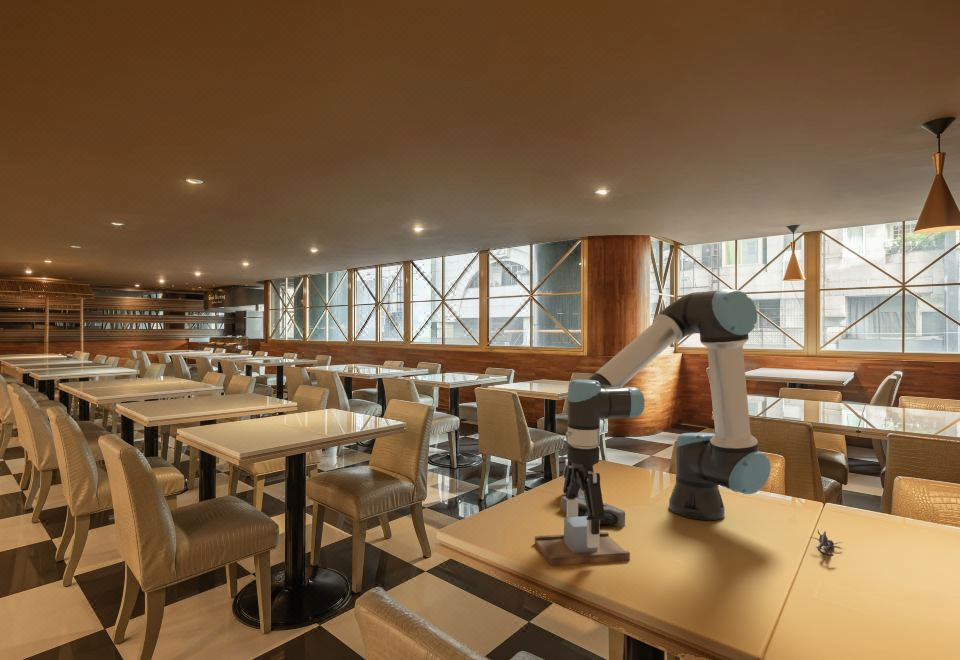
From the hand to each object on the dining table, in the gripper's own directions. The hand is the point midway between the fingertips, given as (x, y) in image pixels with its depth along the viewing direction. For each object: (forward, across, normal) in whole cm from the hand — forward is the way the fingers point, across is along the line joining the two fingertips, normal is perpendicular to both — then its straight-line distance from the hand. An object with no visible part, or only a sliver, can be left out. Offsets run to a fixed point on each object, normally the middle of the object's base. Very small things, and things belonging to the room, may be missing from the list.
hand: (582, 535), depth 121 cm
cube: (+3, 0, 0) cm, 3 cm away
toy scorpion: (+5, +8, +60) cm, 61 cm away
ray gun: (+5, -19, +8) cm, 21 cm away
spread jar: (+4, -36, +15) cm, 39 cm away
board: (+4, 0, 0) cm, 4 cm away
